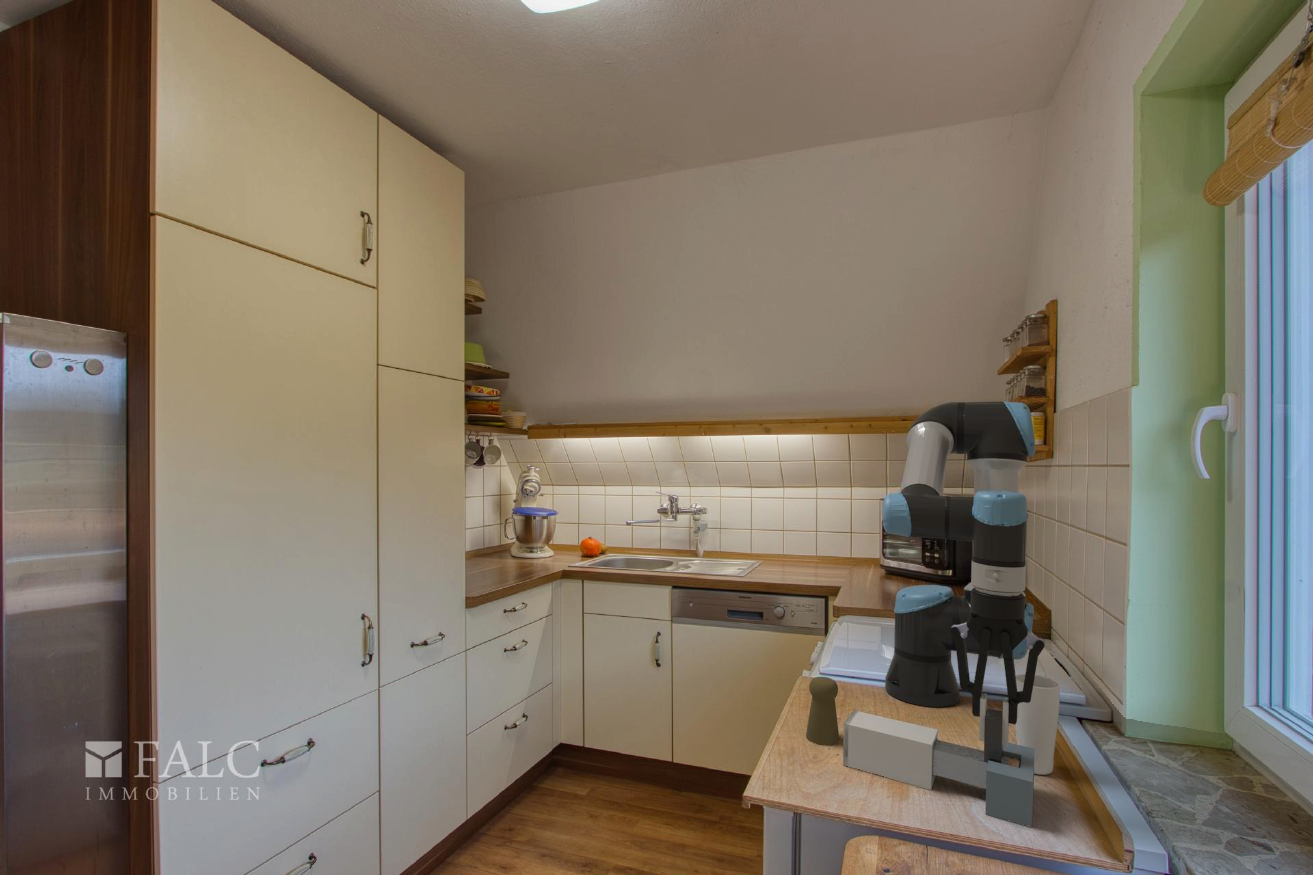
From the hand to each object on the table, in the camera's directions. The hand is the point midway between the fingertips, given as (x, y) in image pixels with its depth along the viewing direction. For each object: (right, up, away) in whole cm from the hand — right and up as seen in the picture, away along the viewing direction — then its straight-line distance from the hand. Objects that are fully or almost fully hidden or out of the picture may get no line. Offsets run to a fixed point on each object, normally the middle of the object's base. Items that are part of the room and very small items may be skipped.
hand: (993, 739), depth 102 cm
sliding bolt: (-5, -7, +3) cm, 9 cm away
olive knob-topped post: (-22, -9, +19) cm, 30 cm away
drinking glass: (+12, -9, +9) cm, 18 cm away
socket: (+1, -9, -1) cm, 9 cm away
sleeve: (-13, -9, +8) cm, 18 cm away
